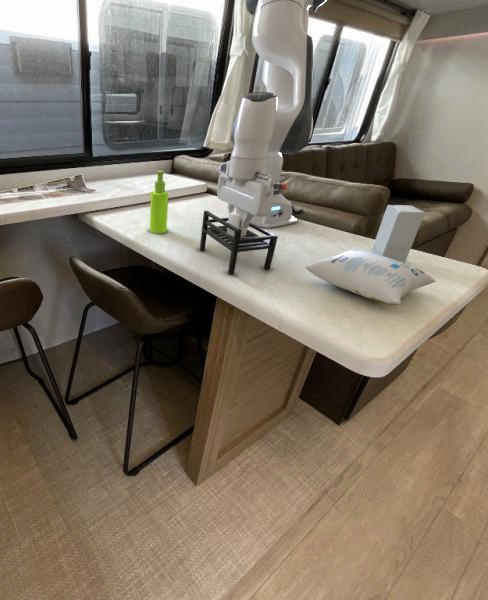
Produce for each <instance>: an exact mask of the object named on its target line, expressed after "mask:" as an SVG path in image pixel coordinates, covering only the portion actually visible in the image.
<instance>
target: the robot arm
mask: <svg viewBox="0 0 488 600" xmlns="http://www.w3.org/2000/svg"><path fill="white" fill-rule="evenodd" d="M327 1H328V0H245V5H246V10H247V12H248V13H249V14H250V15H251V16H254V18H253V24H252V31H251V44H252V47H253V49H254V52H255V53H256V54H257V55H258V57H260V58H261V59H262V60H263V64H262V71H261V81H262V84H263V85H264V86H265V89H266V91H255V92H250V93H247V94H245V95H243V97H242V98H241V102H240V104H239V107H238V111H237V116H236V117H235V118H234V120H233V121H232V126H231V134H230V142H231V144H232V145H233V149H232V151H231V153H230V159H229V160H227V161H225V162H222V163H220V164H219V166H218V172H219V173H220V174H219V176H218V181H217V189H216V190H217V191H216V194H217V199H218V200H221V201H223V202H225V203H227V211H228V215H229V214H230V213H232V212H234V209H235V208H234V207H237V208H239V209H242V210H244V215H245V217H244V219H243V220H241V222H240V226H241V227H243V228H247V229H248V228H249V227H250V226H249V223H250V222H251V223H253V224H254V225H256V226H258V227H260V228H267V229H271V228H276V227H281V226H285V225H291V224H295V223H297V222H298V219H297V218H296V217H295V216H293V214H299V213H303V212H304V209H303V208H301V209H299V210H296V209H295V206H294V205H293V204H292V203H291V201H289V200H288V199H287V197H285V196H284V195H283V194H282V191H287V190H288V188H289V186H288V184H287V183H280V178H281V173H282V169H283V165H284V157H283V155H282V154H284V155H292V156H293V155H295V154H297V153H298V152H300V151H302V150H303V149H304V148H306V147H307V146H308V144H309V142H310V140H311V138H312V134H313V130H314V119H313V105H312V104H313V80H314V42H313V37H312V36H311V35H309V34H308V31H309V18H310V17H309V14H310V13H309V12H310V10H309V9H310V7H313V8H312V14H314V13H316V12H317V10H318V7H320V6H322V5H324V4H325V3H326V2H327ZM281 190H282V191H281Z"/></svg>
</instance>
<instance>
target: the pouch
mask: <svg viewBox="0 0 488 600" xmlns="http://www.w3.org/2000/svg"><path fill="white" fill-rule="evenodd" d="M304 268H305V269H306V270H307V271H308V272H309V273H311V274H312V275H313V276H315V277H317V278H318V279H320V280H323V281H325V282H327V283H329V284H331V285H334V286H336V287H338V288H341V289H342V290H346V291H348V292H350V293H352V294H353V293H354V294H356V295H359V296H361V297H364V298H367V299H369V300H372V301H375V302H376V301H377V302H379V303H383V304H386V305H387V304H388V305H397V304H401V298H403V297H404V296H405V295H406V294H409V293H412V292H413V291H415V290H417V289H420V288H423V287H425V286H428V285H431V284H433V283H436V282H437V280H435V278H433V277H432V276H431V275H430V274H428V273H426V272H425V271H423V270H421V269H419V268H417V267H415V266H413V265H410V264H407V263H406V262H405V263H402V262H400V261H397V260H394V259H390V258H387V257H384V256H380V255H377V254H373V253H371V252H369V251H363V250H356V249H350V250H346V251H343V252H341V253H339V254H336V255H333V256H329V257H327V258H324V259H321V260H319V261H318V260H317V261H315V262H314V263H311V264H309V265H307V266H304Z"/></svg>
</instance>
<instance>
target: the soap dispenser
mask: <svg viewBox="0 0 488 600" xmlns="http://www.w3.org/2000/svg"><path fill="white" fill-rule="evenodd" d="M149 207H150V210H149V211H150V213H149V231H150V233H153V234H164V233H166V232H167V228H168V227H167V225H168V208H169V192H168V191H166V181H165V180H164V169H157V180H155V181H154V191H151V192H150V206H149Z"/></svg>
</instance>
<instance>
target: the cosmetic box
mask: <svg viewBox="0 0 488 600" xmlns="http://www.w3.org/2000/svg"><path fill="white" fill-rule="evenodd" d="M425 214H426V212H425V211H423V210H421V209H419V208H417V207H415V206H414V205H407V204H406V205H405V204H402V205H401V204H387V206H386V208H385V212H384V214H383V217H382V219H381V222H380V224H379V225H380V226H379V228H378V231H377V234H376V236H375V239H374V242H373V245H372V248H371V251H370V253H373V254H377V255H380V256H384V257H387V258H390V259H394V260H397V261H400V262H402V263H405V264H406V261H407V259H408V256H409V253H410V251H411V248H412V247H413V244H414V242H415V239H416V236H417V234H418V232H419V229H420V227H421V225H422V223H423V220H424V217H425Z"/></svg>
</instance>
